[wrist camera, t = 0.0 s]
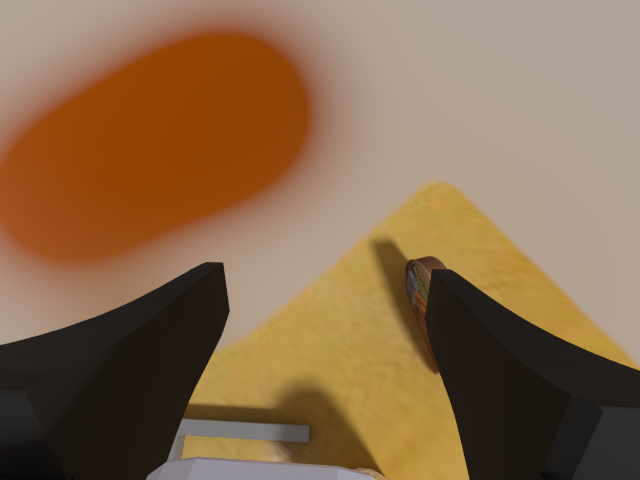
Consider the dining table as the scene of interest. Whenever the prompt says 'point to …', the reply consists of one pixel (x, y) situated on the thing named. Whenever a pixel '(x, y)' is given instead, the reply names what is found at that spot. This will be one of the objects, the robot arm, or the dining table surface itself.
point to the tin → (421, 288)
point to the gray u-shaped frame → (237, 432)
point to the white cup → (372, 473)
